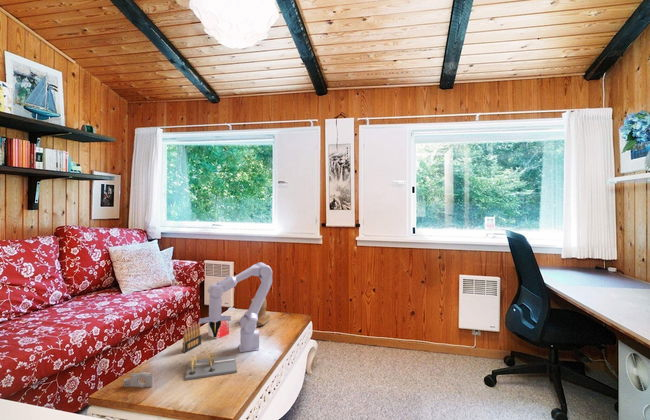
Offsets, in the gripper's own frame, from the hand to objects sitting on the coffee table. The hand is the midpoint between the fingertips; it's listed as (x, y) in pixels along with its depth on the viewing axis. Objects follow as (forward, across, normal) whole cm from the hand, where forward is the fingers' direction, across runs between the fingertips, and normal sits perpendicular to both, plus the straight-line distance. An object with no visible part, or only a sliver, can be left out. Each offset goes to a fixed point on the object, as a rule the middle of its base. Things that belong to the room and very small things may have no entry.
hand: (215, 336), depth 156 cm
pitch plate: (+9, -1, -12) cm, 15 cm away
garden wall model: (+10, -29, -17) cm, 35 cm away
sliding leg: (+8, -2, -12) cm, 14 cm away
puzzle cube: (+10, +2, +24) cm, 26 cm away
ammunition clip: (+10, -11, +12) cm, 19 cm away
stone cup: (+10, +26, +36) cm, 46 cm away
